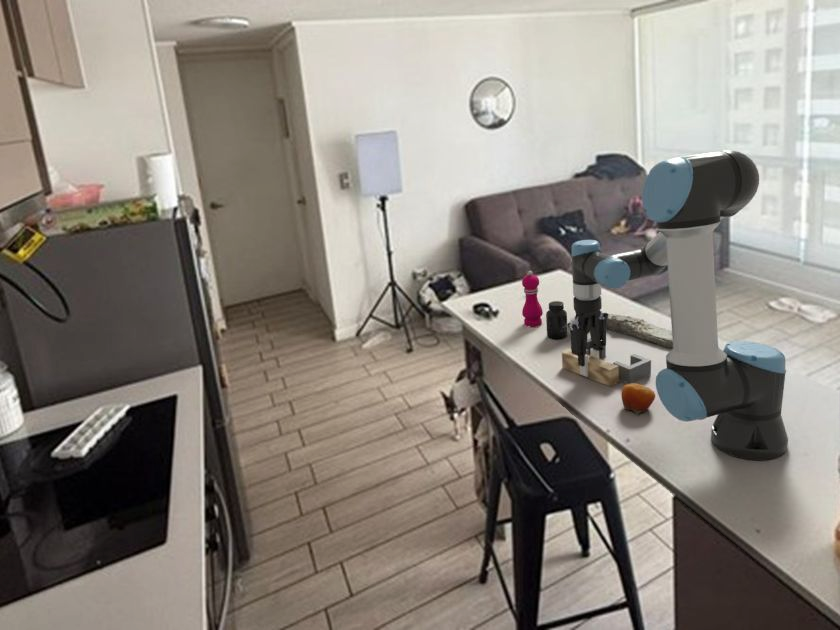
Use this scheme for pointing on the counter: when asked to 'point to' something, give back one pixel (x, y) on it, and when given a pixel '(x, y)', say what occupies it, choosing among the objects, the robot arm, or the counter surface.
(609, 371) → the oak slat
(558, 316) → the supplement bottle
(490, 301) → the counter surface
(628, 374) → the end caps
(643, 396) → the fruit
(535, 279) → the pepper mill
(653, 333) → the long grey stone
